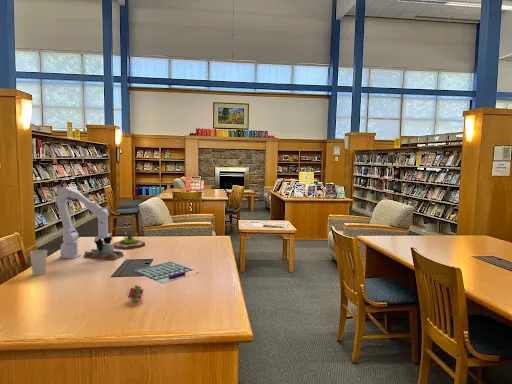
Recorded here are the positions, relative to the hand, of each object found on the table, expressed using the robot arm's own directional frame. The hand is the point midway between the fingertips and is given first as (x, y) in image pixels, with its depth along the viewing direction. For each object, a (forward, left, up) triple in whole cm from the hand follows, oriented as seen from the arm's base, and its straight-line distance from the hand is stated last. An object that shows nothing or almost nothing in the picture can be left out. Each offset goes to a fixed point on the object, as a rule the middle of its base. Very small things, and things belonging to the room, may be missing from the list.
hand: (103, 249), depth 230 cm
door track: (0, 0, -4) cm, 4 cm away
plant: (-1, +30, -5) cm, 30 cm away
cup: (-11, -39, -5) cm, 41 cm away
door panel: (+1, 0, -3) cm, 3 cm away
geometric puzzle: (+59, -58, -5) cm, 83 cm away
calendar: (+54, -16, -5) cm, 56 cm away
